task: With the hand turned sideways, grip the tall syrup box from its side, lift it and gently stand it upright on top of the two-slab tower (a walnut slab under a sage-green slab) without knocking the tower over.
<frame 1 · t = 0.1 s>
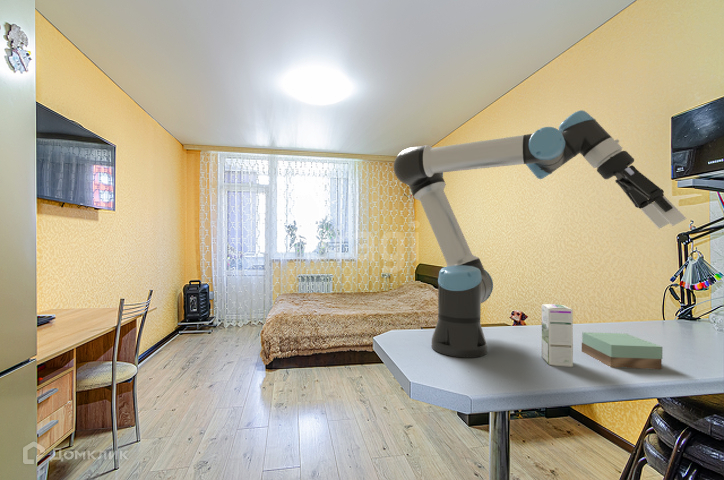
hand: (671, 224, 80), 36 cm above the table, tool tilted 35°, fingers open, 13 cm apart
top slab: (619, 350, 88), point 2 cm above the table, touching bottom slab
bottom slab: (618, 361, 88), on the table, touching top slab
syrup box: (556, 363, 85), on the table
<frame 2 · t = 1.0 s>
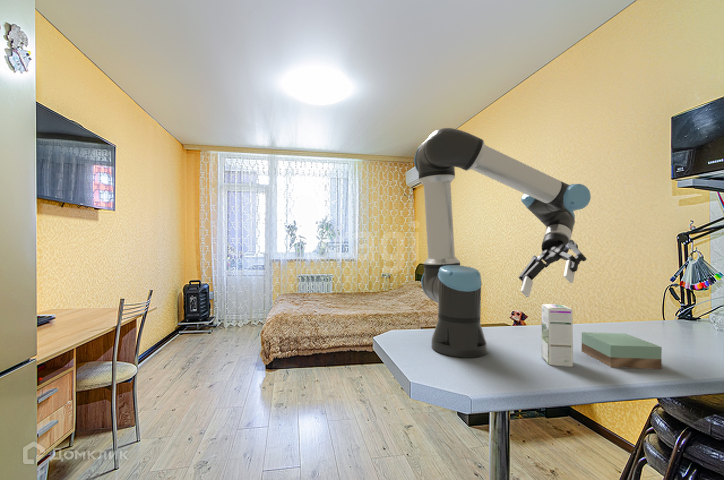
hand: (545, 287, 93), 18 cm above the table, tool tilted 50°, fingers open, 13 cm apart
nothing on the table moved.
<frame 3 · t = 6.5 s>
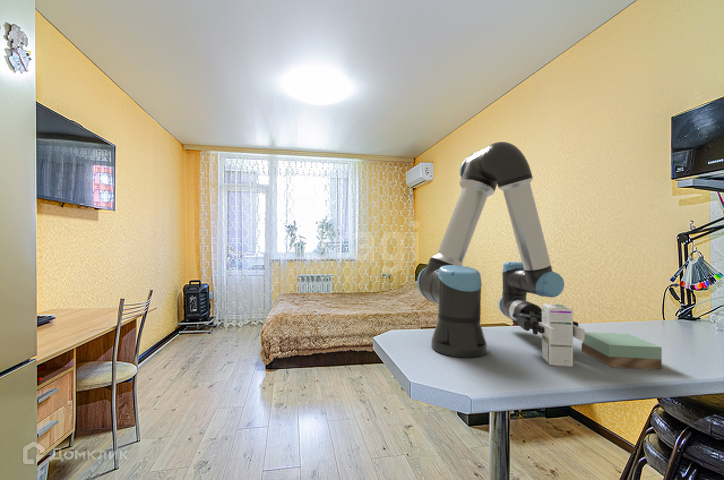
hand: (567, 334, 80), 9 cm above the table, tool horizontal, fingers closed on syrup box, 6 cm apart
syrup box: (556, 363, 85), on the table, touching gripper
everything else where it was.
when the fingers open (15 cm above the table, at t = 14.2 s): syrup box drops 1 cm, point 5 cm above the table.
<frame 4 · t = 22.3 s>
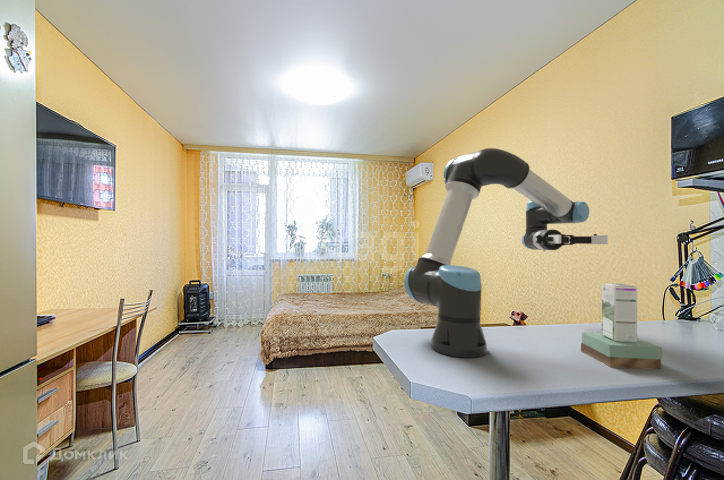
hand: (583, 239, 101), 32 cm above the table, tool horizontal, fingers open, 13 cm apart
syrup box: (618, 339, 87), point 5 cm above the table
everything else where it was.
at the end: syrup box inside the target area on the bottom slab (0.1 cm from its centre), point 6.0 cm above the bottom slab's base; syrup box tilted 3°; top slab 0.2 cm from the bottom slab (horizontally) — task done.
